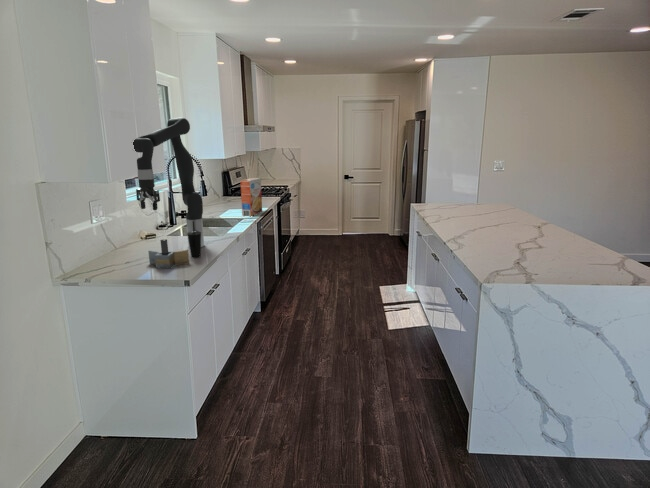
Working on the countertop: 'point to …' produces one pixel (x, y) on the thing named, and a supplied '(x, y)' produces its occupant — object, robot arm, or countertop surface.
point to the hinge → (168, 258)
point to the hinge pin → (164, 247)
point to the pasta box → (251, 196)
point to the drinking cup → (195, 242)
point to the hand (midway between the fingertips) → (149, 209)
